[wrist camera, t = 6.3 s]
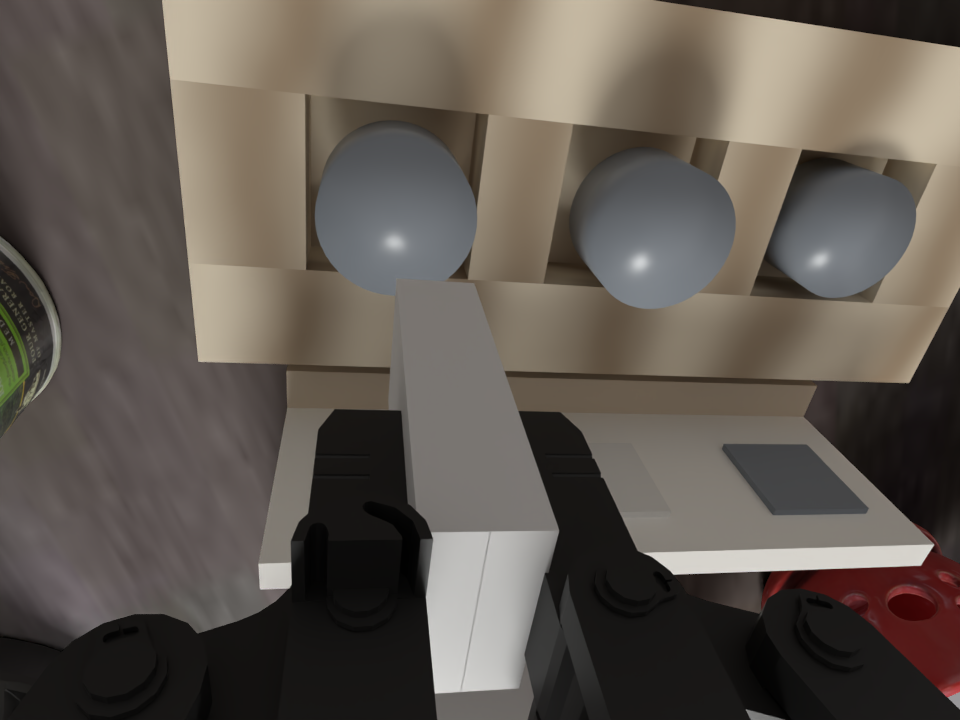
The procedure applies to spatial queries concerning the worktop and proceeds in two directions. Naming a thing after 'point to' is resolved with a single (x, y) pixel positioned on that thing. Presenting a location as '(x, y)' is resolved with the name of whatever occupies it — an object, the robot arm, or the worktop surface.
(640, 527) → the pattern card
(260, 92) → the button board
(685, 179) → the button centre
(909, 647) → the plant pot
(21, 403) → the coffee can
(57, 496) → the worktop surface
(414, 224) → the button
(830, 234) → the button
